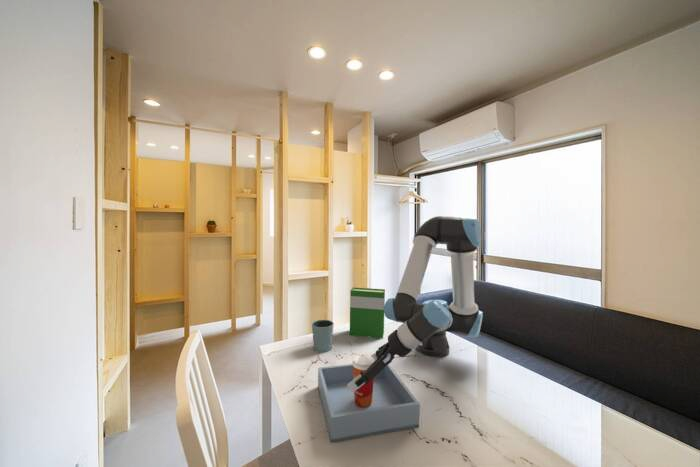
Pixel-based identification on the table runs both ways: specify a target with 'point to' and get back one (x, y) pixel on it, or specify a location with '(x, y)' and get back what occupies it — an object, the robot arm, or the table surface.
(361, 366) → the paper cup
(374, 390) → the bin
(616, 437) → the table surface
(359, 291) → the hardback book
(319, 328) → the grey-blue cup
